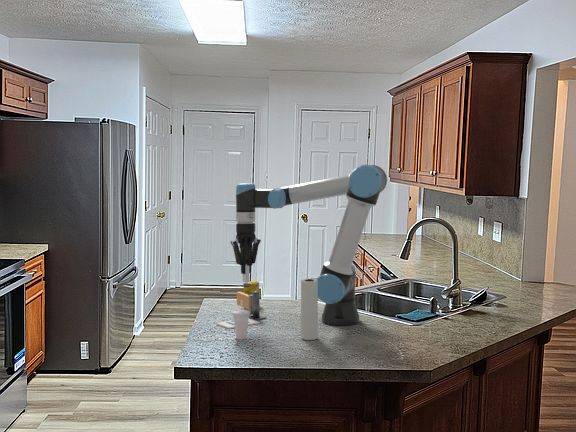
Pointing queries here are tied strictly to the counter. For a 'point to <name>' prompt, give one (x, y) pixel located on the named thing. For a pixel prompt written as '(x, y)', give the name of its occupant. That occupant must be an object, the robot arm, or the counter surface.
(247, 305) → the orange rectangular slab
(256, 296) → the pivot post
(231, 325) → the label tile
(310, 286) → the paper towel roll
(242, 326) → the smoothie
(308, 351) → the counter surface
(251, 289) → the supplement box
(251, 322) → the label tile
